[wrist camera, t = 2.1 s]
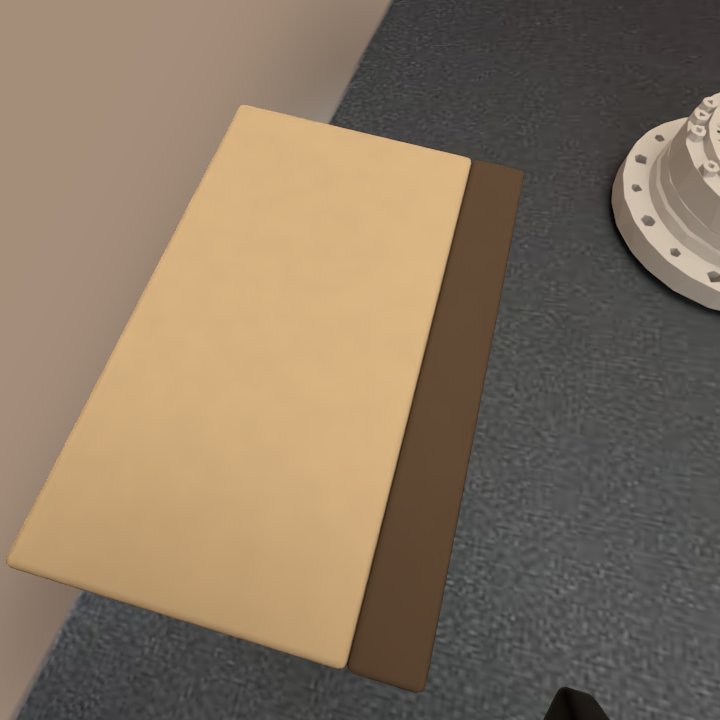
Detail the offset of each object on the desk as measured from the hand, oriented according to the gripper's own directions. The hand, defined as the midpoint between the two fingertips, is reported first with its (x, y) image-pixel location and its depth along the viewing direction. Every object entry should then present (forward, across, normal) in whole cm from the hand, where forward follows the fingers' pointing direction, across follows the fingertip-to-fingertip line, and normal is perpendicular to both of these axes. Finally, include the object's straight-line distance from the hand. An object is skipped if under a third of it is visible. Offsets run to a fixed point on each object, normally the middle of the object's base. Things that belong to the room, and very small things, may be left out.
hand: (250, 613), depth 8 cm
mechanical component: (+22, -13, -7) cm, 26 cm away
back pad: (+10, 0, +5) cm, 11 cm away
